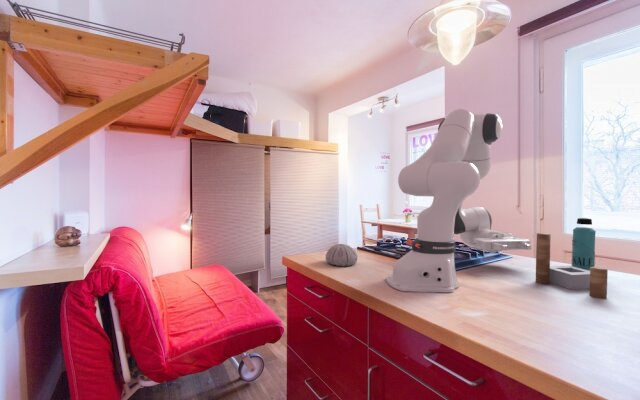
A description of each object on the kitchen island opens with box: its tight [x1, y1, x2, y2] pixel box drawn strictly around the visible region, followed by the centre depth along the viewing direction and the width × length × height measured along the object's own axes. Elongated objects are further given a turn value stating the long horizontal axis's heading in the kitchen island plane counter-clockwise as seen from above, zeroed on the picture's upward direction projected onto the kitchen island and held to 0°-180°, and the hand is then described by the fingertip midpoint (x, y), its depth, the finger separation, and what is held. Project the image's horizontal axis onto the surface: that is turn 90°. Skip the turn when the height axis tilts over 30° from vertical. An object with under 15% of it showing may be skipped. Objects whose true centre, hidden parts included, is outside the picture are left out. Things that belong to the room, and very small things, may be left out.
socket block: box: [549, 265, 590, 291], centre depth 95 cm, size 10×10×4 cm
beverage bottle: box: [571, 217, 596, 271], centre depth 108 cm, size 6×7×20 cm
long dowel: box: [535, 232, 552, 286], centre depth 96 cm, size 4×4×16 cm
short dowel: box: [588, 266, 609, 299], centre depth 84 cm, size 4×4×8 cm
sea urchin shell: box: [325, 243, 358, 267], centre depth 122 cm, size 13×14×8 cm
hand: (517, 247), depth 106 cm, fingers open, 8 cm apart
